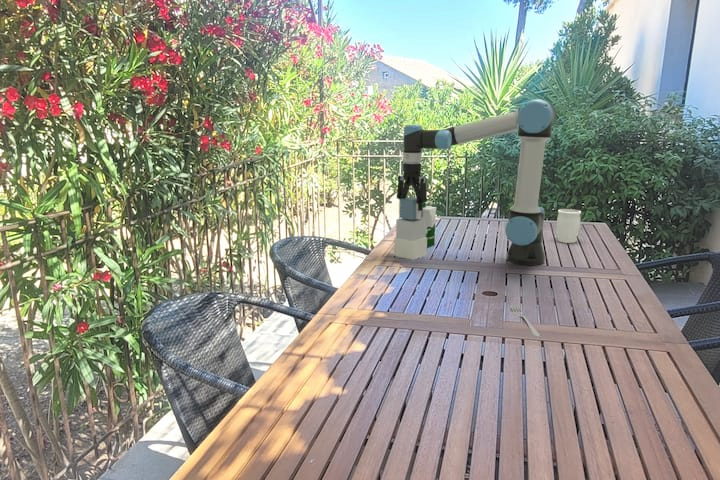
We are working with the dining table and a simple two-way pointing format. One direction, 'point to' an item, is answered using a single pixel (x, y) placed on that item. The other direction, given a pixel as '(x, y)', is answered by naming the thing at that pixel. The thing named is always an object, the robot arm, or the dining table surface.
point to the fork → (525, 320)
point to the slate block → (408, 208)
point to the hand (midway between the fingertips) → (411, 216)
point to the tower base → (410, 248)
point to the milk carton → (429, 223)
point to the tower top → (411, 229)
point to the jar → (568, 225)
